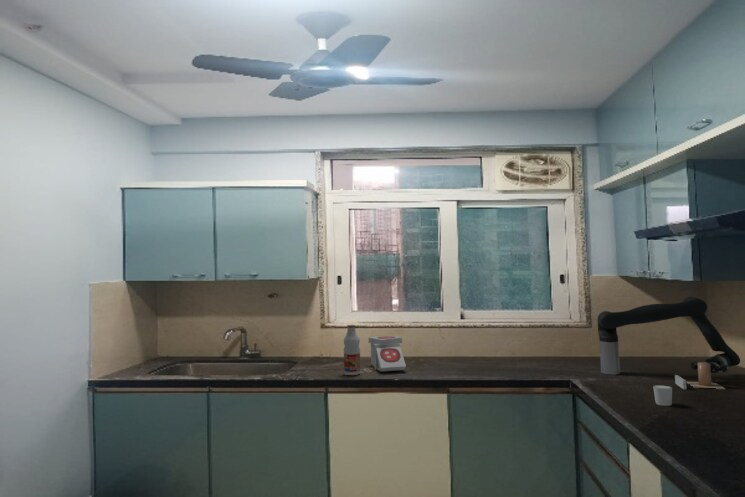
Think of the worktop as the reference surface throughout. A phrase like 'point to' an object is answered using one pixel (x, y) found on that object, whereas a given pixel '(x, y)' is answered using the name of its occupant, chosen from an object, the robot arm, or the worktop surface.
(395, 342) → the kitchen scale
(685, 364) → the worktop surface
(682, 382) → the wall
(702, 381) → the cylinder
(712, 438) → the worktop surface
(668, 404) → the shot glass
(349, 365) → the fruit juice
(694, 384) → the pad
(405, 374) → the worktop surface
